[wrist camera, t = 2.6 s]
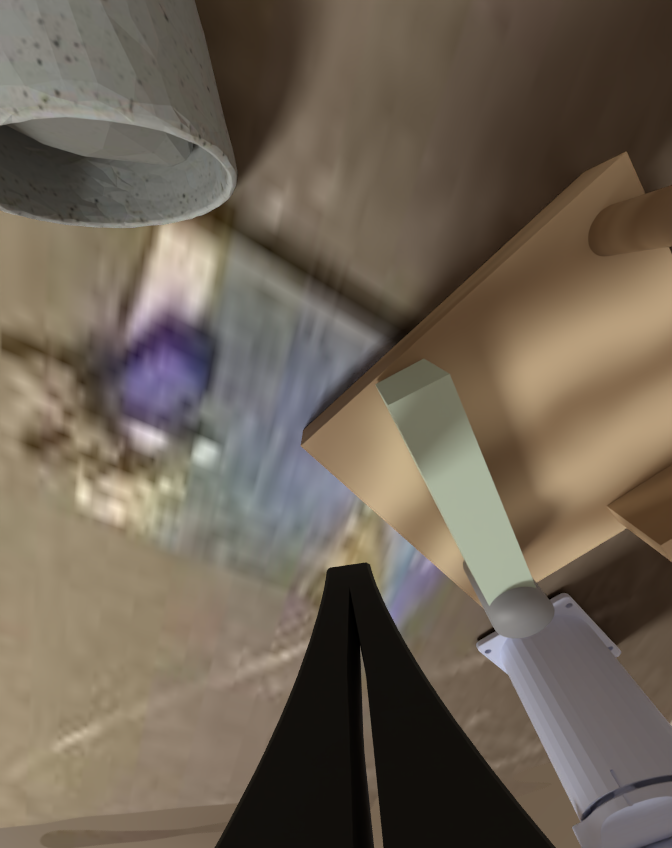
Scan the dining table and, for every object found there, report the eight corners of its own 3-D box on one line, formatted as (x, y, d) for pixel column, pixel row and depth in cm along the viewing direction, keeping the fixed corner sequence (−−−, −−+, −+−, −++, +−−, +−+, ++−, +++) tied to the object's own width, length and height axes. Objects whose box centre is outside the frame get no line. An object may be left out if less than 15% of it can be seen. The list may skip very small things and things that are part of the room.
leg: (519, 567, 19) (560, 624, 15) (472, 586, 19) (502, 645, 16) (430, 355, 14) (463, 372, 10) (369, 387, 14) (382, 413, 11)
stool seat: (713, 433, 18) (886, 493, 13) (473, 585, 22) (524, 681, 17) (583, 172, 13) (775, 79, 8) (303, 429, 17) (293, 493, 11)
